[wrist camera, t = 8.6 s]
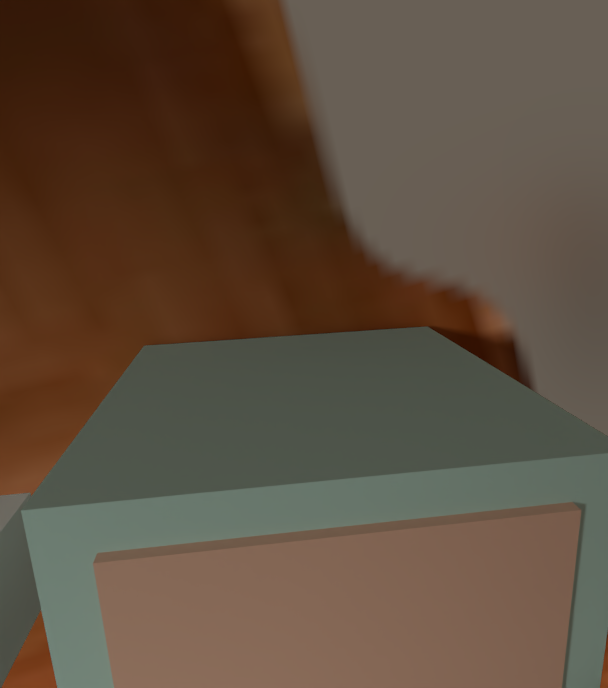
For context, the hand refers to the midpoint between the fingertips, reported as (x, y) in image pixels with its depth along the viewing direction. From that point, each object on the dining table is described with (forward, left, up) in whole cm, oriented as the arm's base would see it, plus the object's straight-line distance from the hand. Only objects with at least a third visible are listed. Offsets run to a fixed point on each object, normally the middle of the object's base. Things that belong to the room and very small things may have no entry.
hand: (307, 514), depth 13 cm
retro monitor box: (0, 0, -3) cm, 3 cm away
